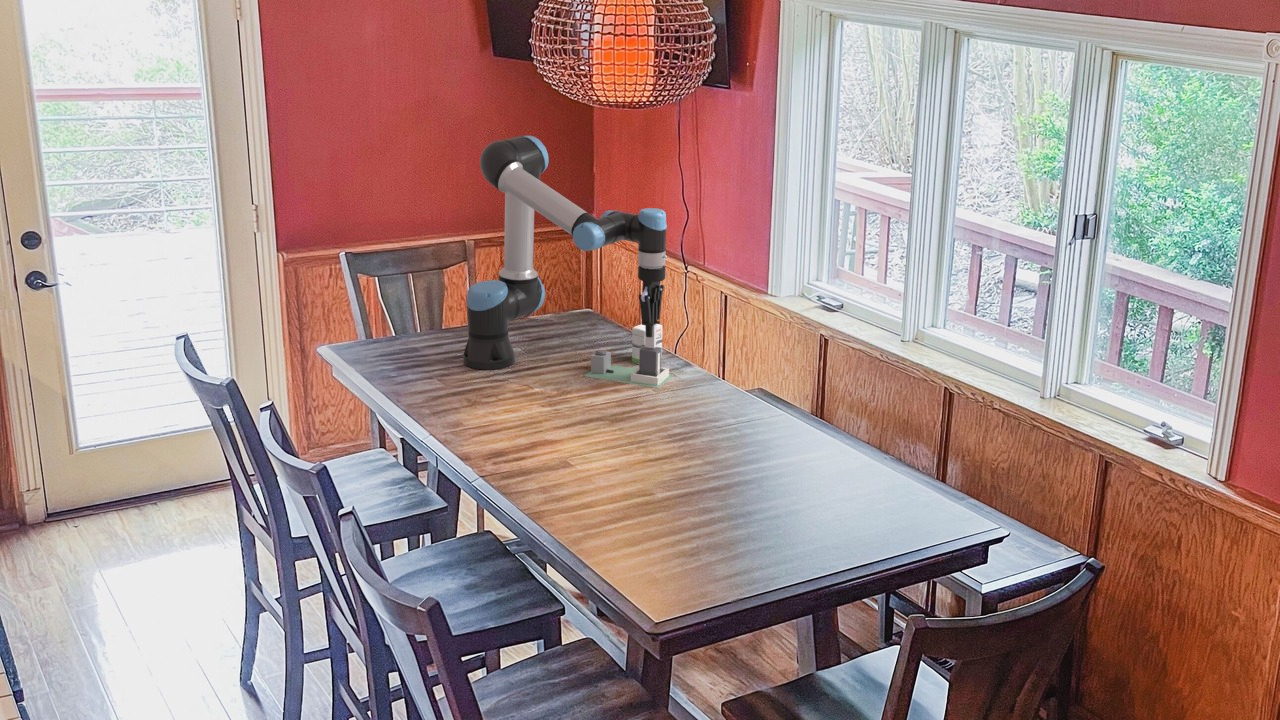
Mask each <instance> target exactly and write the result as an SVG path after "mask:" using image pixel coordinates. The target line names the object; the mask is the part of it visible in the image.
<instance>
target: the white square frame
mask: <svg viewBox="0 0 1280 720" xmlns="http://www.w3.org/2000/svg"><path fill="white" fill-rule="evenodd" d="M636 369H637V370H635V371H634V372H633V373H632V374H631V381H632V382H638V383H644V384H651V385H657V386H658V385H659V384H660V383H661V382H662V381H664V380H665V379H666V378H667V377H668V376H669V374H670V368H667V367H661V373H660V374H659V375H658V376H657V377H654V376H647V375H641V374H639V367H638V368H636Z"/></svg>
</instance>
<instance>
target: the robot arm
mask: <svg viewBox="0 0 1280 720" xmlns="http://www.w3.org/2000/svg"><path fill="white" fill-rule="evenodd" d="M548 166H549V153H548V151H547V147H546V146H545V145H544V144H543V143H542V141H541V140H540V139H538V138H537V137H536V136H532V135H518V136H516V137H515V136H514V137H511V138H510V137H509V138H506V139H501V140H499V139H498V140H495V141H492V142H490V143H488V144H487V145H486V146H485V147H484V149H483V150H482V152H481V153H480V157H479V168H480V171H481V174H482V176H483V178H484V179H485V180H486V181H487V182H488V183H489V184H490V185H491V186H492V187H494V188H495V189H497V190H498V191H499V192H500V193H504V201H505V202H504V239H503V240H504V242H503V243H504V246H503V247H504V249H503V250H504V251H503V252H504V253H503V258H504V259H503V260H504V261H503V267H502V269H500V270H499V272H498V280H497V279H491V280H489V279H488V280H486V281H485V280H482V281H478V282H476V283H474V284H472V285H471V286H470V287H469V288H468V290H467V296H466V297H467V298H466V309H467V310H466V311H467V312H466V313H467V330H468V332H467V334H468V337H467V340H466V344H465V348H464V352H463V355H462V359H463V360H462V361H463V364H464V365H465V366H466V367H469V368H470V369H471V368H472V369H477V370H489V371H490V370H499V369H504V368H507V367H510V366H513V364H514V363H515V362H516V357H515V356H516V355H515V351H514V349H513V345H512V341H511V339H510V337H509V322H512V321H515V320H517V319H521V318H523V317H528V316H530V315H531V314H533V313H535V312H537V311H538V310H540V308H542V306H543V303H544V301H545V299H546V290H545V289H546V288H545V285H544V284H543V283H542V279H541V278H539V273H538V271H536V269H534V241H535V240H534V236H535V234H534V233H535V232H534V231H535V230H534V229H535V212H537V213H538V214H540V215H541V216H543V217H544V218H546V219H547V220H549V221H550V222H552V224H555V225H556V226H558V227H559V228H561V229H562V230H564V231H565V232H566V233H568V234H569V235H571V236H572V240H573V243H574V244H575V245H576V247H577V248H578V249H579V250H580V251H585V252H588V251H595V250H598V249H600V248H603V247H605V246H608V245H609V246H610V245H613V244H615V243H617V242H621V241H628V242H635V243H638V246H637V247H638V248H637V249H638V250H637V251H638V252H637V253H638V254H637V264H638V267H637V278H638V280H640V281H642V282H643V284H642V288H641V289H642V290H641V291H642V294H641V293H640V294H639V295H638V301H639V304H640V305H639V306H640V317H641V324H642V325H645V347H649V348H655V347H656V324H660V323H661V322H660V321H659V320H661V319H660V318H661V310H662V300H663V294H664V293H663V292H664V289H665V285H664V284H661V282H663V281H665V279H666V266H665V265H666V259H667V258H668V256H667V254H666V249H667V248H666V245H667V244H666V243H667V241H666V239H667V227H668V225H667V214H666V211H664V209H661V208H656V207H655V208H652V207H645V208H642V209H640V210H639V211H638V214H635V213H630V212H624V211H620V210H605V211H604V212H603V214H602V215H601V216H600V218H596V217H595V216H594V215H592V214H590V212H587V211H586V210H584V209H583V208H581V207H580V206H578V205H577V204H576V203H574V202H573V201H571V200H570V199H568V198H567V197H565V196H563V195H562V194H561V193H560V192H558V191H556V189H553V188H551V187H550V186H549V185H547V184H546V183H545V182H543V181H541V175H542V174H544V172H545V170H546V169H547V168H548ZM660 325H661V324H660Z"/></svg>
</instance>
